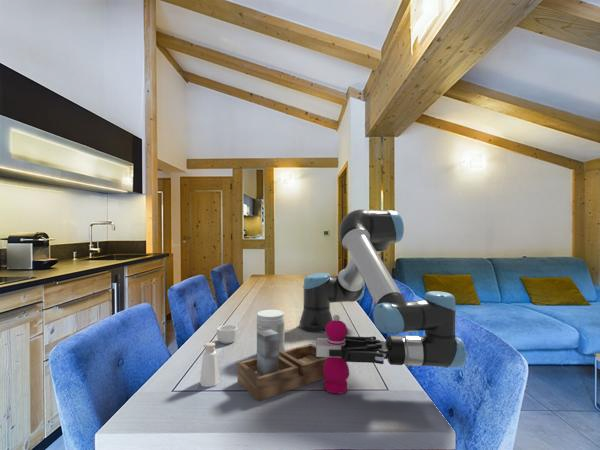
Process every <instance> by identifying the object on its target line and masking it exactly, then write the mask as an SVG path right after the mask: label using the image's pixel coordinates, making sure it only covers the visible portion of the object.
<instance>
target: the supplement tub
mask: <svg viewBox="0 0 600 450" xmlns="http://www.w3.org/2000/svg"><path fill="white" fill-rule="evenodd" d="M270 329H271V330H273V331H275V332H277V333H279V352H281V351H285V345H286V344H285V341H286V340H285V331H286V330H285V313H284V311H282V310H279V309H265V310H260V311H258V312H257V313H256V333H257V332H260V331H265V330H270Z"/></svg>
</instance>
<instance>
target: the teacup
mask: <svg viewBox="0 0 600 450" xmlns="http://www.w3.org/2000/svg"><path fill="white" fill-rule="evenodd" d="M216 337H217V340H218V341H219V342H220V343H221V344H227V345H228V344H232V343H233V342H235V340H237V338H238V326H237V325H235V324H224V325H219V326H218V327H217V328H216Z"/></svg>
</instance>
